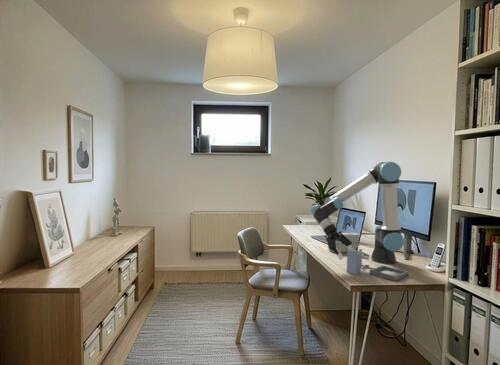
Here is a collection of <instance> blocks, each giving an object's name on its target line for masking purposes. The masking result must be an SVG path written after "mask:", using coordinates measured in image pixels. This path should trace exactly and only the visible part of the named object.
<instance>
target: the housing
mask: <svg viewBox="0 0 500 365" xmlns="http://www.w3.org/2000/svg"><path fill="white" fill-rule="evenodd" d="M369 275H371V276H375V277H378V278H382V279H385V280H388V281H392V282H399V281H400V280H403V279H405V278H408V277H409V271H406V270H403V269H399V268H396V267H390V266H388V265H387V266H386V265H380V266H378V267H374V268H371V269H370V270H369Z"/></svg>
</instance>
